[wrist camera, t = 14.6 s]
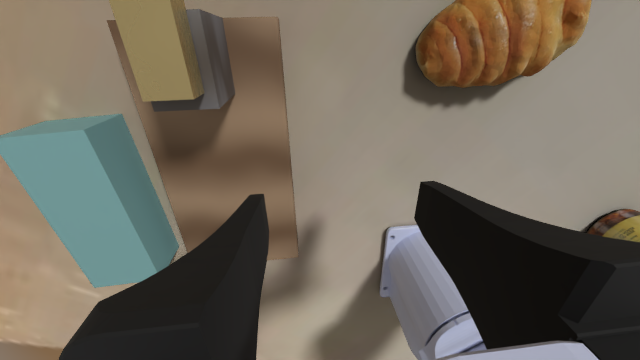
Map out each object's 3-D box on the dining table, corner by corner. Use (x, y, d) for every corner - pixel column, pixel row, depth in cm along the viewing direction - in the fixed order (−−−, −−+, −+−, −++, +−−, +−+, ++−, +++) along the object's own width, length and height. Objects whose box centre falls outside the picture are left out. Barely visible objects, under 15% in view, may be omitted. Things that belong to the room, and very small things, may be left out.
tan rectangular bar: (204, 93, 12) (194, 99, 11) (158, 94, 12) (142, 101, 11) (164, -84, 9) (144, -105, 8) (104, -85, 9) (73, -106, 8)
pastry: (419, 106, 20) (446, 118, 17) (402, 7, 17) (430, -2, 14) (541, 59, 19) (594, 62, 16) (546, -52, 16) (613, -77, 13)
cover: (180, 244, 24) (160, 279, 20) (123, 251, 24) (94, 287, 20) (123, 112, 18) (83, 129, 15) (49, 120, 18) (-11, 139, 14)
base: (297, 241, 25) (300, 298, 19) (199, 250, 24) (173, 311, 19) (278, 19, 16) (273, 7, 11) (127, 22, 16) (40, 12, 10)
